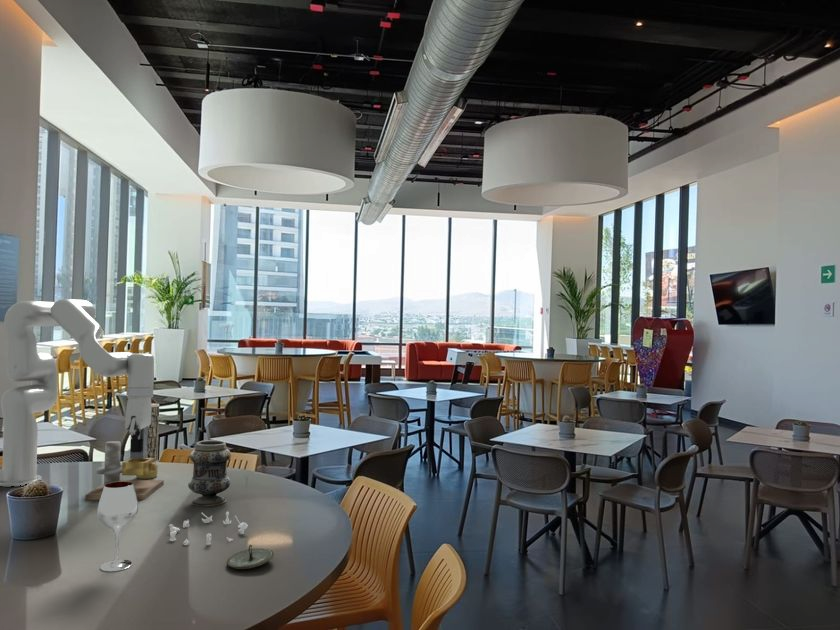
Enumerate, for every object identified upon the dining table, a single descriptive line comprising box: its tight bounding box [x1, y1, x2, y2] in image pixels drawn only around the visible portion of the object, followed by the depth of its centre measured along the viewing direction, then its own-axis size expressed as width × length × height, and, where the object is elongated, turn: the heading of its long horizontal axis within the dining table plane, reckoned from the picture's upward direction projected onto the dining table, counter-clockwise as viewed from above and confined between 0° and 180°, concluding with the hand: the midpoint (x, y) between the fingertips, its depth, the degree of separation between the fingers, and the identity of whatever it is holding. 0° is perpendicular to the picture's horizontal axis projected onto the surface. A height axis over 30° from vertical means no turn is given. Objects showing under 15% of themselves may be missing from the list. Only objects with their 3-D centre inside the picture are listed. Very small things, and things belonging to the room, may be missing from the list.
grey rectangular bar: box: [129, 426, 148, 459], centre depth 200 cm, size 4×3×11 cm
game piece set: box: [168, 510, 249, 546], centre depth 163 cm, size 19×20×4 cm
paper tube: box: [135, 402, 160, 480], centre depth 219 cm, size 7×7×25 cm
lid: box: [226, 544, 275, 570], centre depth 143 cm, size 11×10×5 cm
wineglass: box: [96, 481, 139, 573], centre depth 140 cm, size 8×8×18 cm
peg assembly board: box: [84, 440, 165, 501], centre depth 200 cm, size 18×18×16 cm
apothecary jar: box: [187, 439, 232, 508], centre depth 191 cm, size 12×12×18 cm
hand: (138, 450), depth 200 cm, fingers closed on grey rectangular bar, 3 cm apart
